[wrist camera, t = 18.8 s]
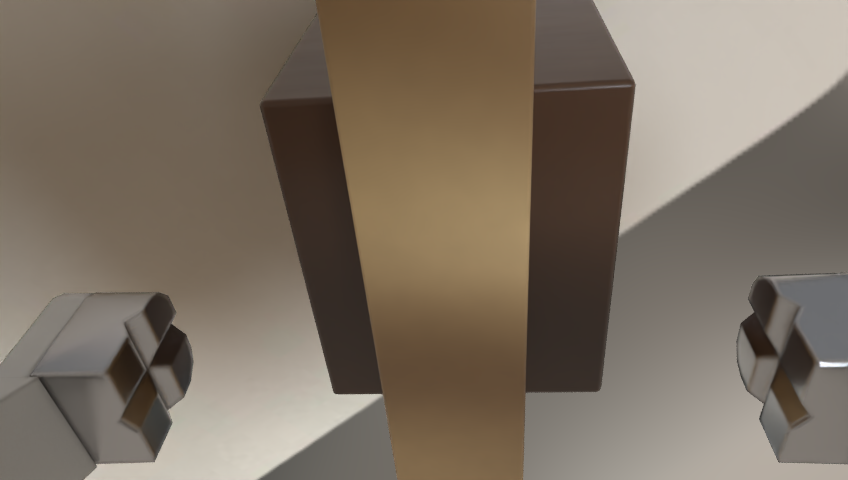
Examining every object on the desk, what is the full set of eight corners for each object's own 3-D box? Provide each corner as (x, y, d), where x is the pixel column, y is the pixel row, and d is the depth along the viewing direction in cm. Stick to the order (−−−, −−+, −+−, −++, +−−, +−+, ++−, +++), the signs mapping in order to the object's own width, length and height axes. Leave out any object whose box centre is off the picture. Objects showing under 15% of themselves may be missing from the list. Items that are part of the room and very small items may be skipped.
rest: (370, -75, 18) (256, 102, 9) (548, -90, 18) (637, 80, 8) (394, 118, 22) (332, 396, 12) (543, 110, 21) (601, 394, 12)
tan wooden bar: (321, -146, 7) (291, -129, 6) (530, -164, 7) (541, -149, 6) (414, 493, 14) (410, 556, 13) (517, 494, 14) (521, 559, 13)
